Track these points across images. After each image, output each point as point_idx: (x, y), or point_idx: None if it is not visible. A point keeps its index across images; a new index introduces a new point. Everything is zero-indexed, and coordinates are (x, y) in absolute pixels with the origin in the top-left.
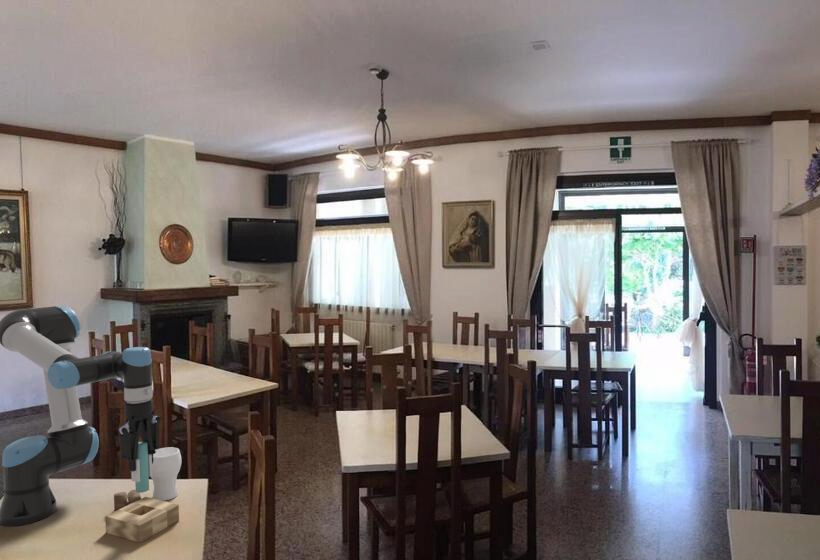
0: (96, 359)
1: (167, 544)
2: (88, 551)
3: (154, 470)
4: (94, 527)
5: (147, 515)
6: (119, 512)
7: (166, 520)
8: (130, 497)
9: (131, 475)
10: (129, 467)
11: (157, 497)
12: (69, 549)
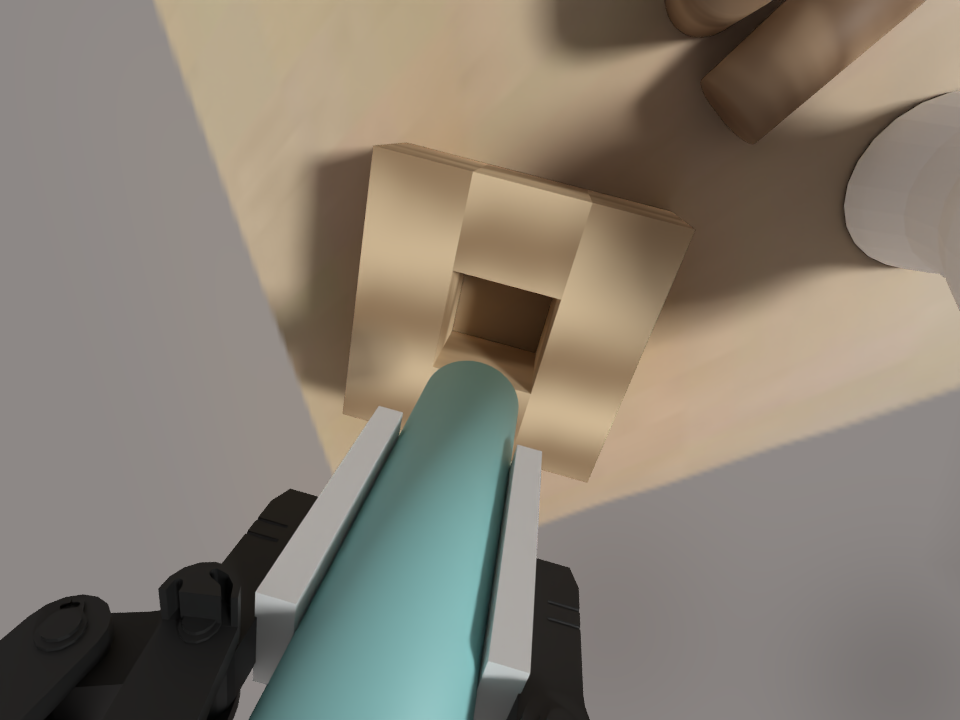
0: None
1: None
2: (244, 194)
3: None
4: (445, 5)
5: None
6: (437, 209)
7: None
8: (801, 9)
9: (359, 435)
10: (257, 523)
11: (864, 180)
12: (218, 72)
